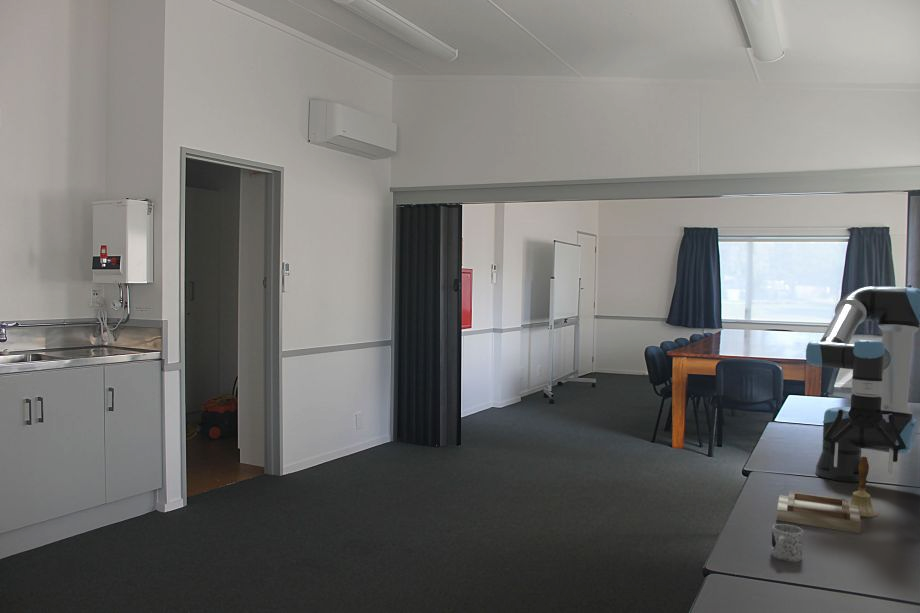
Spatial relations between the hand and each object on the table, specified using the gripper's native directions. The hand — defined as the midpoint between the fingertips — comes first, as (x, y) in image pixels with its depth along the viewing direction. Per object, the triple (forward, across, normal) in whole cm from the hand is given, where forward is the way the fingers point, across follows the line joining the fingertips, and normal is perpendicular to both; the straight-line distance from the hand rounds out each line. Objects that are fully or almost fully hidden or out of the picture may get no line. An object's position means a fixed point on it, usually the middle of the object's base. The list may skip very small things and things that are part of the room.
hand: (862, 469), depth 207 cm
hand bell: (+13, 0, +1) cm, 13 cm away
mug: (+13, -18, -48) cm, 53 cm away
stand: (+12, -11, -12) cm, 20 cm away
